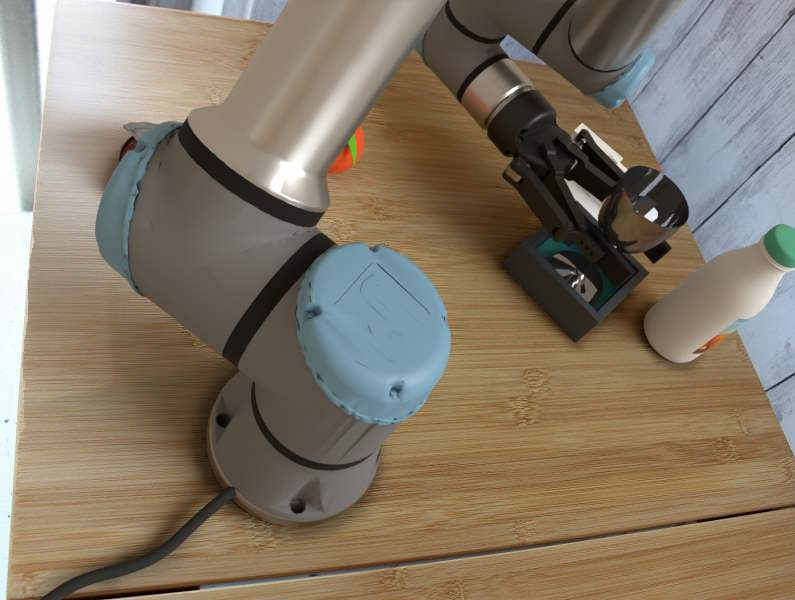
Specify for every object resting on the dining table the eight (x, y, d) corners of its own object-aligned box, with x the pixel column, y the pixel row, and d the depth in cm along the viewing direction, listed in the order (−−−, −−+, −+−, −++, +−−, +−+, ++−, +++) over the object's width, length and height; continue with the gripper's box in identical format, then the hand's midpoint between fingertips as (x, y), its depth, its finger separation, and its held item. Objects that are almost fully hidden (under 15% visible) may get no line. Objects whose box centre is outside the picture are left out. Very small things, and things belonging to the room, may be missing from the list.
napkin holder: (533, 140, 109) (556, 110, 104) (603, 147, 114) (627, 118, 109) (570, 235, 102) (596, 207, 97) (642, 238, 107) (670, 211, 102)
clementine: (366, 188, 93) (389, 146, 87) (313, 199, 89) (333, 156, 84) (335, 133, 96) (356, 89, 90) (281, 141, 92) (300, 96, 86)
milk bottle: (656, 367, 96) (784, 274, 80) (631, 309, 99) (749, 208, 84) (706, 363, 99) (837, 273, 84) (680, 306, 103) (801, 210, 87)
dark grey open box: (575, 343, 93) (599, 322, 89) (501, 265, 95) (521, 242, 91) (626, 293, 100) (649, 272, 97) (556, 222, 102) (576, 199, 98)
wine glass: (575, 239, 99) (652, 157, 88) (618, 291, 97) (702, 214, 86) (533, 260, 95) (608, 177, 83) (577, 315, 93) (660, 238, 81)
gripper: (546, 112, 103) (670, 256, 97) (437, 155, 91) (571, 320, 86) (579, 68, 97) (713, 218, 91) (467, 108, 85) (613, 282, 80)
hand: (644, 267), depth 89 cm, fingers closed on wine glass, 6 cm apart
